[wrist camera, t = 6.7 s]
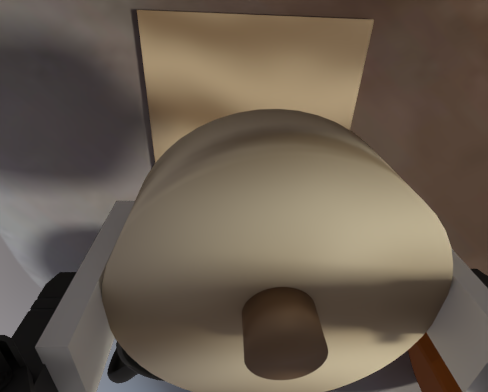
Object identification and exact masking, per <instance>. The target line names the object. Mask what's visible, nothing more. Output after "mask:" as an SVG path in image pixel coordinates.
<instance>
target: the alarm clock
mask: <svg viewBox="0 0 488 392" xmlns="http://www.w3.org/2000/svg"><path fill="white" fill-rule="evenodd" d="M408 353H409V357H410V360H411V364H412V367H413V371H414V374H415V377H416V379H417V381H418V384H419V386H420V388H421V391H422V392H462V390H461V389H460V387H459V385H458V384H457V382H456V380H455V379H454V377H453V375H452V374H451V372H450V370H449V369H448V367H447V366H446V364H445V362H444V361H443V359H442V357H441V356H440V354H439V352H438V351H437V349H436V347H435V346H434V344H433V342H432V341H431V339H430V338H429V336H428V334H427V333H425V334H424V335H423V336H422V337H421V338H420V339H419V340H418V341H417V342H416V343H415V344H414V345H413V346H412V347H411V348H410V349H409V350H408Z"/></svg>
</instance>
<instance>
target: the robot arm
mask: <svg viewBox="0 0 488 392" xmlns="http://www.w3.org/2000/svg"><path fill="white" fill-rule="evenodd" d="M134 202H135V201H116V203H115V205H114V206H113V208H112V210H111V212H110V214H109V215H108V217H107V219H106V221H105V222H104V224H103V226H102V228H101V230H100V231H99V233H98V235H97V237H96V239H95V240H94V242H93V244H92V246H91V248H90V249H89V251H88V253H87V255H86V256H85V258H84V260H83V262H82V264H81V265H80V267H79V269H78V271H77V272H60V273H59V274H57V275H56V276H55V277H54V278H53V279H51V280H50V281H49V282H48V283H47V284H46V285H45V287H44V288H43V290H42V292H41V293H40V294H39V296H38V299H37V300H36V301H35V302H34V304H33V305H32V307H31V310H30V311H29V312H28V313H27V315H26V316H25V318H24V319H23V321H22V322H21V324H20V325H19V327H18V328H17V330H16V332H15V333H14V335H13V336H12V338H10V337H8V336H5V335H0V392H96V391H97V388H98V385H99V382H100V379H101V376H102V373H103V370H104V367H105V364H106V361H107V358H108V355H109V352H110V350H111V346H112V343H113V341H114V338H115V337H114V335H113V333H112V332H111V330H110V327H109V323H108V320H107V316H106V313H105V309H104V306H103V302H102V282H103V278H104V273H105V269H106V265H107V263H108V260H109V258H110V256H111V253H112V251H113V249H114V247H115V244H116V242H117V240H118V238H119V236H120V233H121V231H122V229H123V227H124V225H125V222H126V220H127V218H128V216H129V213H130V211H131V209H132V207H133V205H134ZM452 258H453V274H452V282H451V286H450V290H449V293H448V296H447V298H446V300H445V302H444V303H443V305H442V307H441V309H440V311H439V313H438V315H437V317H436V318H435V320H434V322H433V324H432V325H431V327H430V328H429V329H428V330H427V331H426V333H427V334H428V336H429V338H430V339H431V341H432V342H433V344H434V346H435V347H436V349H437V351H438V352H439V354H440V356H441V357H442V359H443V361H444V362H445V364H446V366H447V367H448V369H449V370H450V372H451V374H452V375H453V377H454V379H455V380H456V382H457V384H458V385H459V387H460V389H461V390H462V392H488V276H487V275H485V274H484V273H482V272H481V271H479V270H478V269H470V268H469V267H468V266H467V265H466V264H465V263H464V262H463V261H462V260H461V259H460V257H459V256H458V255H457V254H456V253H455V252H454V251H453V250H452Z"/></svg>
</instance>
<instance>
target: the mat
mask: <svg viewBox="0 0 488 392" xmlns="http://www.w3.org/2000/svg"><path fill="white" fill-rule="evenodd" d="M137 16H138V25H139V33H140V41H141V49H142V58H143V66H144V74H145V82H146V91H147V99H148V107H149V115H150V124H151V132H152V140H153V148H154V157H155V163H156V162H157V161H158V159H159V158H160V157H161V156H162V155H163V154H164V153H165V152H166V150H168V149H169V148H170V147H171V146H172V145H173V144H175V143H176V142H177V141H178V140H179V139H181V138H182V137H184V136H185V135H187V134H188V133H190V132H191V131H193V130H195V129H196V128H198V127H200V126H202V125H204V124H207V123H209V122H211V121H213V120H215V119H218V118H222V117H225V116H228V115H231V114H235V113H239V112H245V111H251V110H258V109H286V110H297V111H302V112H306V113H311V114H315V115H319V116H321V117H324V118H326V119H329V120H331V121H334V122H336V123H338V124H340V125H342V126H343V127H345V128H347V129H349V130H350V126H351V122H352V117H353V113H354V108H355V104H356V99H357V95H358V90H359V86H360V81H361V77H362V72H363V68H364V63H365V59H366V54H367V50H368V45H369V41H370V36H371V31H372V27H373V22H374V20H372V19H349V18H325V17H301V16H276V15H252V14H228V13H204V12H179V11H155V10H137Z"/></svg>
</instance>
